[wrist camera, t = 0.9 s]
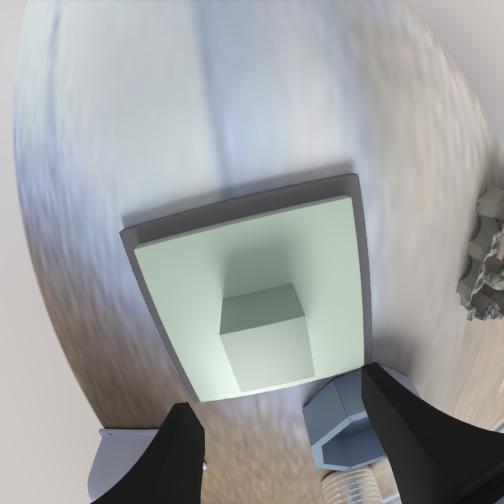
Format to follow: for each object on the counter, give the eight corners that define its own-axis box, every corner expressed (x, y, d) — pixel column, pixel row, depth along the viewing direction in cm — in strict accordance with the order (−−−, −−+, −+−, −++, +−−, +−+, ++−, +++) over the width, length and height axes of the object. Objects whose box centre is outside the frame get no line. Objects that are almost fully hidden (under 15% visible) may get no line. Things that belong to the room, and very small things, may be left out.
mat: (195, 395, 21) (194, 402, 20) (124, 228, 17) (119, 232, 16) (368, 357, 21) (371, 363, 20) (352, 173, 16) (358, 174, 15)
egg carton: (476, 176, 17) (514, 184, 13) (522, 196, 17) (553, 206, 13) (444, 304, 20) (471, 330, 16) (492, 304, 21) (518, 324, 17)
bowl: (309, 444, 25) (317, 478, 20) (297, 384, 21) (307, 427, 17) (398, 416, 24) (413, 446, 20) (408, 350, 21) (432, 384, 17)
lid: (201, 392, 20) (196, 439, 16) (139, 244, 16) (109, 275, 12) (359, 358, 20) (381, 399, 15) (344, 194, 16) (380, 211, 11)
